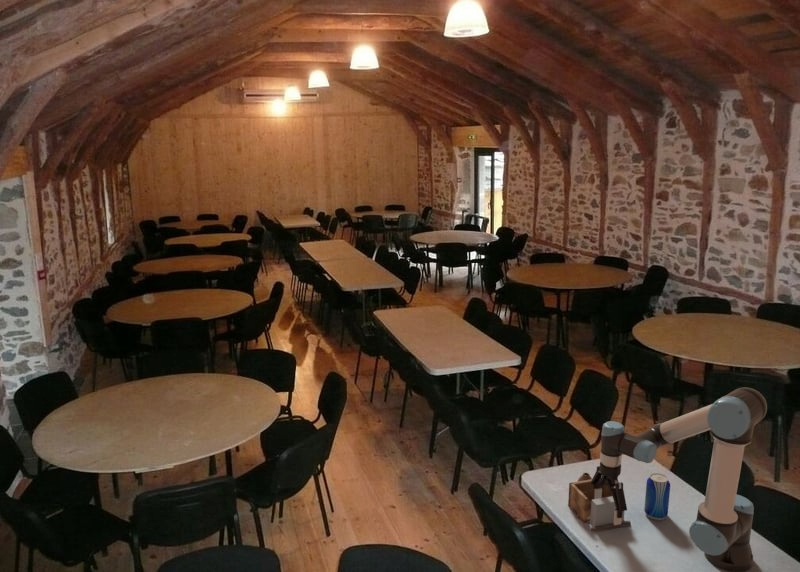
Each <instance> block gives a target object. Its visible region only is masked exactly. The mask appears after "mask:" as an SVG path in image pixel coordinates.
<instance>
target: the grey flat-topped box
mask: <svg viewBox="0 0 800 572" xmlns="http://www.w3.org/2000/svg"><path fill="white" fill-rule="evenodd" d="M615 508H616V506H615V503H614V499H613V496H611V497H605V498H599V499H594V500H592V501H591V516H590V522H589V524H590V526H591V527H598V526H603V525H608V524H614V511H615ZM624 519H625V511H623V513H622V521H621V522H624V521H625V520H624Z"/></svg>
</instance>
